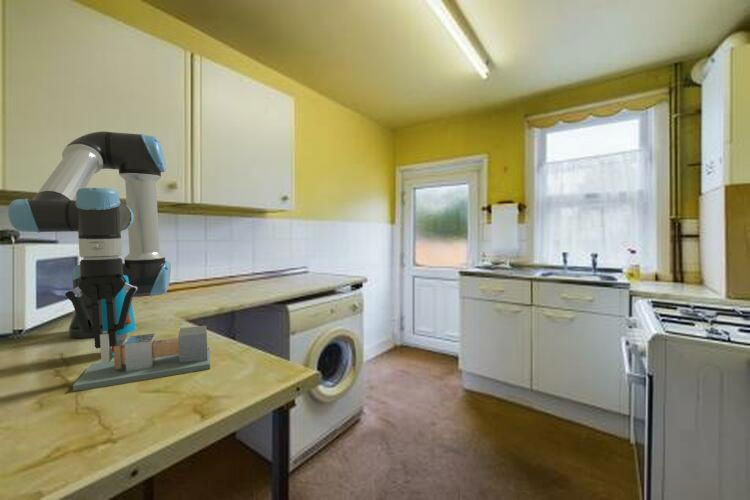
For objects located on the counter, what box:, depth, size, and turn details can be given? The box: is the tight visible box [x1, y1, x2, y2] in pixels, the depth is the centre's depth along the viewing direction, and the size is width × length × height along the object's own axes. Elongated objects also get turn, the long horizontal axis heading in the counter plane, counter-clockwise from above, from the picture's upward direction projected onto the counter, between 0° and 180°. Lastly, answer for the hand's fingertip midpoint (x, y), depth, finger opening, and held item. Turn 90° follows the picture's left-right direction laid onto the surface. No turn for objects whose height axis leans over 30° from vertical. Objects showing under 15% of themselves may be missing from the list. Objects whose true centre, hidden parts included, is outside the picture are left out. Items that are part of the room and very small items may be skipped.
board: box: [72, 346, 211, 392], centre depth 83 cm, size 13×26×1 cm, turn 116°
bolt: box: [113, 337, 179, 369], centre depth 83 cm, size 5×15×5 cm, turn 116°
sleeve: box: [125, 333, 156, 372], centre depth 82 cm, size 7×5×6 cm
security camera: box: [102, 275, 137, 358], centre depth 93 cm, size 8×21×10 cm
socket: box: [177, 325, 208, 365], centre depth 86 cm, size 8×6×7 cm
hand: (107, 360), depth 79 cm, fingers closed
